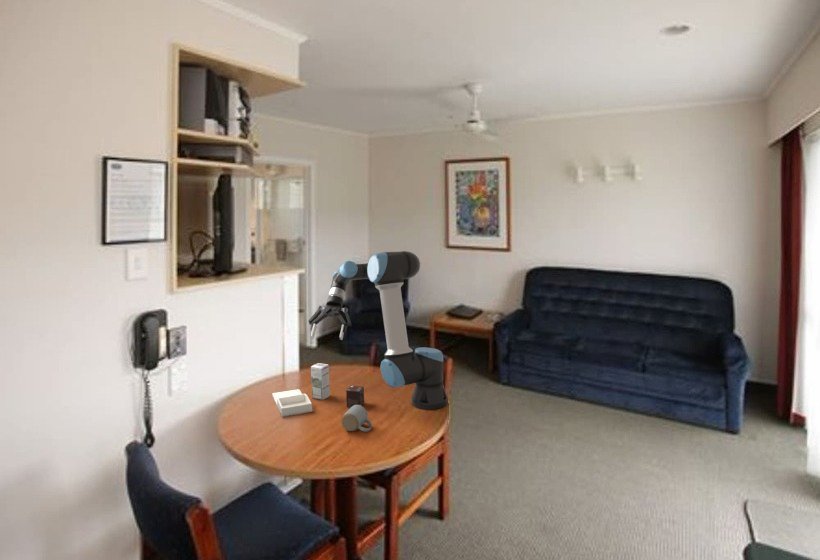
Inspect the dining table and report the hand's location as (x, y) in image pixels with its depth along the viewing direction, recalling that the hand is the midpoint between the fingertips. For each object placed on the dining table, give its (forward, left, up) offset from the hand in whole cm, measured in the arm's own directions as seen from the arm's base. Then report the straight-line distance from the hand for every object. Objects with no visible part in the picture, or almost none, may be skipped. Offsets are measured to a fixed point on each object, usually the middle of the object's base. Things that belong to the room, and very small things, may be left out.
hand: (326, 337), depth 218 cm
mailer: (-10, +19, -24) cm, 32 cm away
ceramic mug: (-46, 0, -24) cm, 52 cm away
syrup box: (-10, +6, -24) cm, 26 cm away
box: (-25, -5, -24) cm, 35 cm away
